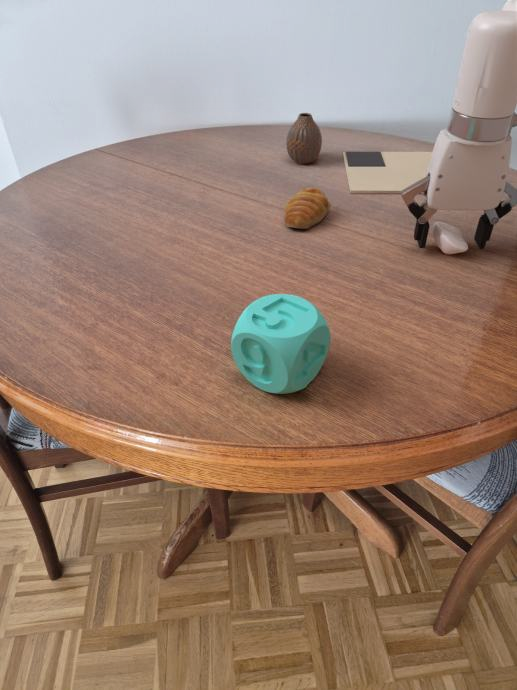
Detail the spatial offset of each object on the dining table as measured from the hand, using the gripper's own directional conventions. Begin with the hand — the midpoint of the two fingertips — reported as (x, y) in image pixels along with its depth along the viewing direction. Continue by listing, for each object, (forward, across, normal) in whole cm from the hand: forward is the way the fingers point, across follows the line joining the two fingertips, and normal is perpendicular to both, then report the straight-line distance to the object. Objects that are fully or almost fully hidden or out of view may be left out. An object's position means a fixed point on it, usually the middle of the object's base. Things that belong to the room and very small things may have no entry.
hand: (449, 243), depth 81 cm
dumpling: (+1, 0, 0) cm, 1 cm away
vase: (+1, +21, -34) cm, 40 cm away
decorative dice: (+1, +25, +27) cm, 37 cm away
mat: (+1, +3, -28) cm, 28 cm away
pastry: (+1, +21, -10) cm, 23 cm away
